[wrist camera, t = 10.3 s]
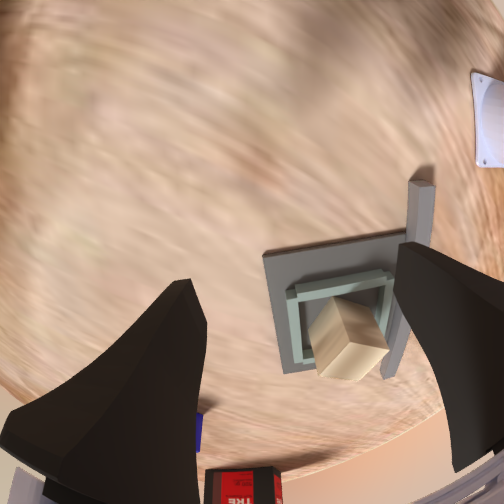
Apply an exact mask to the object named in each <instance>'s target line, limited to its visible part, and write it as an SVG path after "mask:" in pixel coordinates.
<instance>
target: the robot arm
mask: <svg viewBox="0 0 504 504" xmlns="http://www.w3.org/2000/svg"><path fill="white" fill-rule="evenodd" d="M479 79H480V80H479ZM471 81H472V89H473V98H474V109H475V127H476V165H477V166H479V167H503V168H504V82H502V81H499V80H497V79H494V78H491V77H488V76H485V75H482V74H479V73H476V72H472V73H471ZM483 161H484V162H483ZM393 292H394V295H395V297H396V300H397V302H398V304H399V307H400V309H401V311H402V313H403V315H404V317H405V319H406V320H407V322H408V324H409V326H410V327H411V329H412V331H413V333H414V334H415V336H416V338H417V340H418V341H419V343H420V345H421V347H422V349H423V350H424V352H425V354H426V356H427V358H428V360H429V362H430V364H431V366H432V369H433V371H434V374H435V377H436V380H437V383H438V386H439V389H440V392H441V395H442V399H443V403H444V406H445V410H446V415H447V420H448V425H449V431H450V438H451V449H452V465H453V468H454V471H455V473H457V472H459V471H461V470H462V469H464V468H465V467H467V466H469V465H471V464H472V463H474V462H475V461H477V460H478V459H480V458H481V457H483V456H484V455H486V454H487V453H489V452H490V451H492V450H493V452H494V455H495V456H494V457H492V458H491V459H489V460H488V461H487V462H485V463H484V464H482V465H481V466H479V467H478V468H476V469H475V470H473V471H472V472H470V473H468V474H467V475H465V476H463V477H461V478H460V479H458V480H456V481H455V482H453V483H451V484H449V485H447V486H445V487H444V488H441V489H440V490H438V491H436V492H434V493H431V494H430V495H427V496H425V497H423V498H421V499H418V500H416V501H414V502H411V503H409V504H455V503H456V502H458V501H459V502H458V503H456V504H504V282H502V281H499V280H497V279H494V278H492V277H490V276H487V275H485V274H483V273H481V272H479V271H477V270H475V269H472V268H470V267H468V266H466V265H464V264H462V263H460V262H458V261H456V260H454V259H452V258H450V257H448V256H446V255H444V254H442V253H440V252H438V251H436V250H434V249H432V248H429V247H427V246H425V245H422V244H420V243H417V242H414V241H411V242H405V243H400V244H399V246H398V255H397V264H396V272H395V279H394V286H393ZM206 345H207V321H206V318H205V316H204V313H203V310H202V308H201V305H200V303H199V300H198V297H197V295H196V292H195V289H194V286H193V284H192V281H191V278H190V279H183V280H177V281H173V282H172V283H171V284H170V285H169V286H168V287H167V288H166V289H165V290H164V291H163V292H162V293H161V294H160V296H159V297H158V298H157V299H156V300H155V301H154V302H153V303H152V304H151V305H150V306H149V308H148V309H147V310H146V311H145V312H144V313H143V314H142V315H141V316H140V317H139V318H138V319H137V320H136V322H135V323H134V324H133V325H132V326H131V327H130V328H129V329H128V330H127V331H126V332H125V333H124V334H123V335H122V336H121V337H120V338H119V339H118V340H117V341H116V342H115V343H114V344H113V345H111V346H110V347H109V348H108V349H107V350H106V351H105V352H104V353H103V354H101V355H100V356H99V357H98V358H97V359H96V360H94V361H93V362H92V363H91V364H89V365H88V366H87V367H85V368H84V369H83V370H81V371H80V372H79V373H77V374H76V375H75V376H73V377H72V378H71V379H69V380H68V381H66V382H65V383H63V384H62V385H60V386H59V387H57V388H55V389H54V390H52V391H50V392H49V393H47V394H45V395H44V396H42V397H40V398H38V399H36V400H34V401H32V402H30V403H28V404H26V405H24V406H22V407H20V408H17V409H15V410H13V411H11V412H10V414H9V415H8V417H7V419H6V422H5V424H4V427H3V429H2V432H1V434H0V447H1V448H2V449H3V450H5V451H6V452H8V453H9V454H10V455H12V456H13V457H15V458H16V459H18V460H19V461H21V462H22V463H24V464H25V465H27V466H29V467H30V468H32V469H33V470H35V471H37V472H39V473H40V474H42V475H44V476H46V480H45V482H43V481H42V480H40V479H38V478H37V477H34V476H33V475H31V474H30V473H28V472H26V471H25V470H23V469H21V468H20V467H16V471H15V474H14V478H13V482H12V486H11V490H10V494H9V499H8V503H7V504H200V497H199V489H198V478H197V463H196V413H197V403H198V397H199V390H200V384H201V378H202V372H203V366H204V360H205V354H206ZM485 484H486V485H485ZM483 485H485V488H484V489H483V490H481V491H479V492H477V493H475V494H473V495H471V496H469V497H467V496H468V495H470V494H471V493H473V492H474V491H476V490H477V489H479V488H480V487H482V486H483ZM465 497H467V498H465ZM463 498H465V499H463ZM462 499H463V500H462ZM460 500H461V501H460Z"/></svg>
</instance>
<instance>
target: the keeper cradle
mask: <svg viewBox="0 0 504 504" xmlns="http://www.w3.org/2000/svg"><path fill="white" fill-rule="evenodd" d="M405 237H406V234H405V233H404V232H399V233H393V234H387V235H381V236H375V237H369V238H363V239H357V240H351V241H346V242H340V243H334V244H328V245H322V246H316V247H309V248H303V249H297V250H291V251H285V252H279V253H273V254H267V255H262V257H263V263H264V268H265V274H266V279H267V285H268V290H269V296H270V301H271V307H272V312H273V318H274V323H275V329H276V335H277V340H278V346H279V352H280V357H281V363H282V369H283V374H288V373H295V372H301V371H306V370H312V369H317V368H316V363H315V359H314V354H313V350H312V346H311V341H310V337H309V333H308V329H309V327H310V326H311V325H312V323H313V322H314V321H315V319H316V318H317V317H318V315H319V314H320V312H321V311H322V310H323V308H324V307H325V305H326V304H327V303H328V301H329V300H330V298H331V297H332V296H335V297H338V298H341V299H345V300H348V301H351V302H354V303H357V304H360V305H363V306H366V307H369V308H370V310H371V312H372V314H373V316H374V318H375V320H376V322H377V324H378V326H379V328H380V330H381V332H382V334H383V336H384V338H385V341H386V343H387V341H388V337H389V333H390V329H391V325H392V320H393V316H394V311H395V306H396V301H397V300H396V297H395V295H394V292H393V286H394V279H395V272H396V264H397V255H398V246H399V244H400V243H405Z"/></svg>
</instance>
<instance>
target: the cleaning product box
mask: <svg viewBox="0 0 504 504" xmlns="http://www.w3.org/2000/svg"><path fill="white" fill-rule="evenodd" d="M204 487H205V488H204V504H283V499H282V485H281V473H280V472H279V471H278V470H277V469H276V468H274V467H273V466H270V467H260V468H247V469H222V470H206V471H205V486H204Z"/></svg>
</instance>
